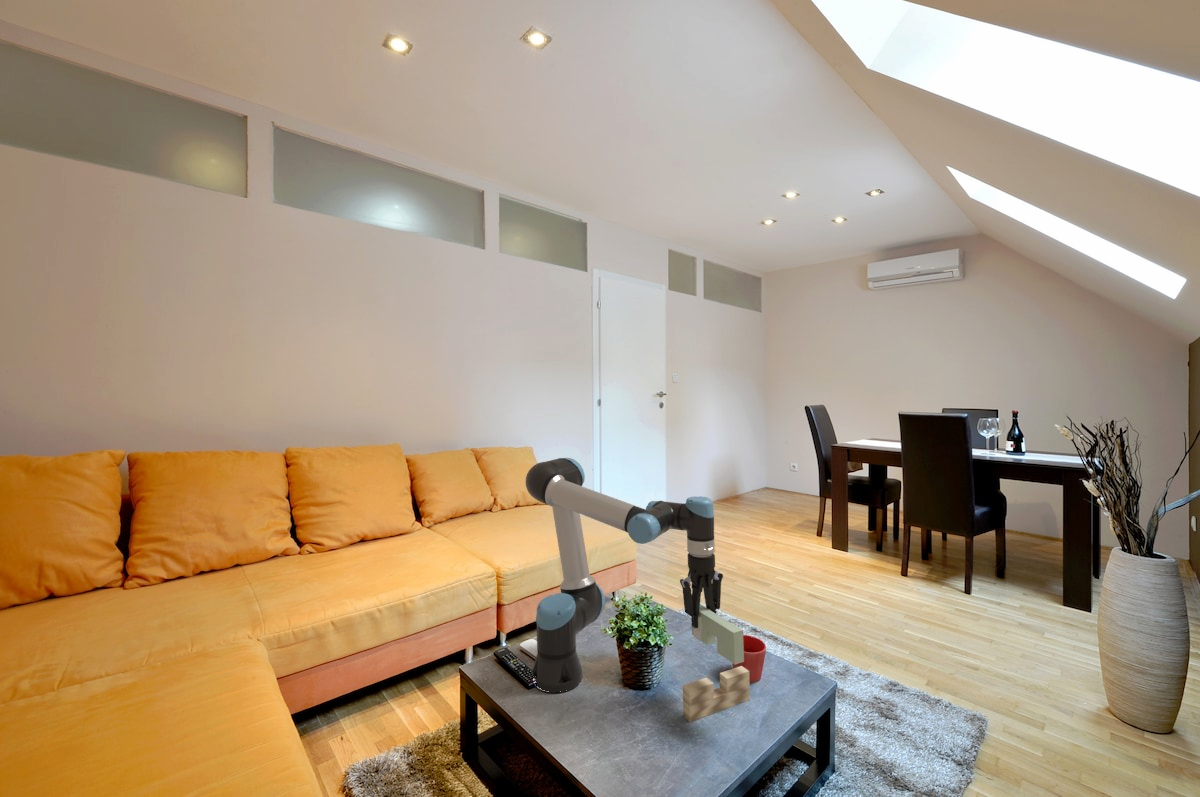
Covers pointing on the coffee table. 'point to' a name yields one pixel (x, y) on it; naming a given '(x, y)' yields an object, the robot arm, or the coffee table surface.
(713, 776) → the coffee table surface
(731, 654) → the cross piece
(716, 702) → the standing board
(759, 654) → the flower pot
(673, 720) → the coffee table surface
